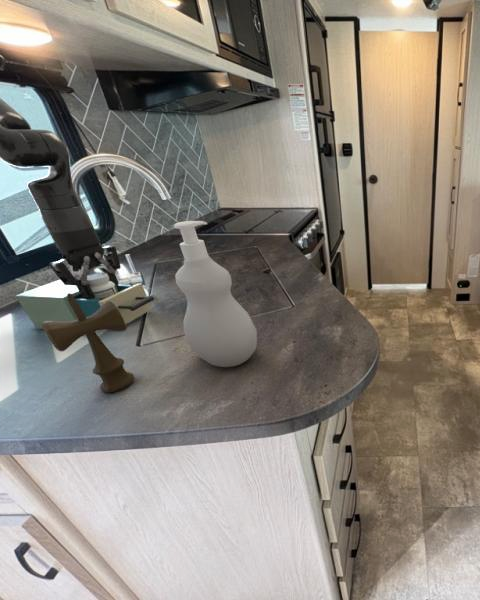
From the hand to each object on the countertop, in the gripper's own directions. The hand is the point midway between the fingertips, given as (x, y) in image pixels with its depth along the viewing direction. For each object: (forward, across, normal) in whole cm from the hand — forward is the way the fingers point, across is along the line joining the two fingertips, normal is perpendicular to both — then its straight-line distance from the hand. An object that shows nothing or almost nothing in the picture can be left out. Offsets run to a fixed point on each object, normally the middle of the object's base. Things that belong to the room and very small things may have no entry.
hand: (102, 292), depth 80 cm
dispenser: (+9, 0, +11) cm, 14 cm away
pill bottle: (+6, 0, 0) cm, 6 cm away
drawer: (+8, 0, -2) cm, 8 cm away
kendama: (+9, -22, -24) cm, 34 cm away
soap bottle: (+9, -11, -40) cm, 43 cm away
